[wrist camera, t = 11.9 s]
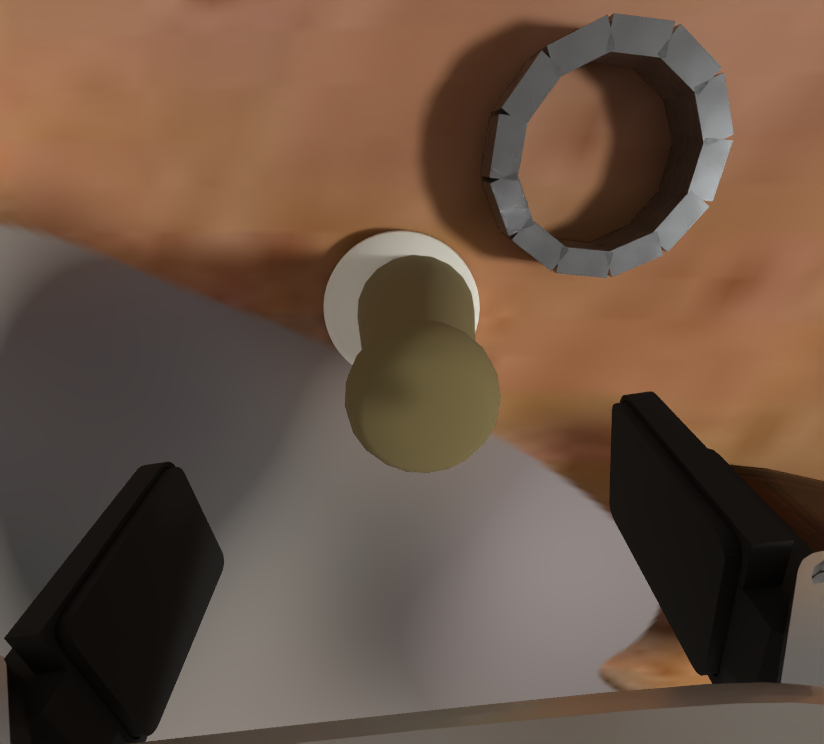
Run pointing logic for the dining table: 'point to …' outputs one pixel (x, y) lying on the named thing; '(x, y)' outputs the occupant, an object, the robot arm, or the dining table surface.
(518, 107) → the holder ring
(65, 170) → the dining table surface
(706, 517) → the robot arm
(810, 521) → the pepper mill
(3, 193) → the dining table surface
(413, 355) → the cork
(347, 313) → the pebble
